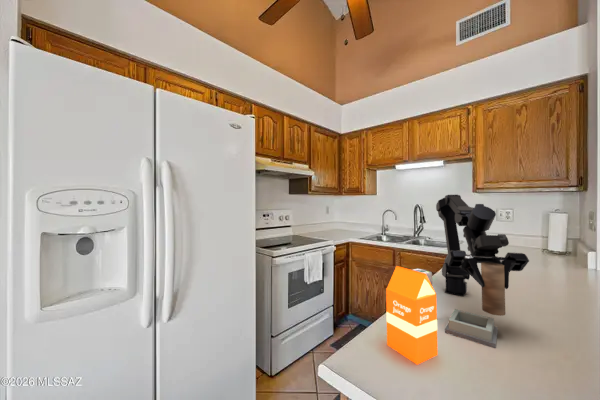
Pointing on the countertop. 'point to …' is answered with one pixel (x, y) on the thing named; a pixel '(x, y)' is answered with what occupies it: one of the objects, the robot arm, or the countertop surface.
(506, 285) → the robot arm
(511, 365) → the countertop surface
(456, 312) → the dock
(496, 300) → the walnut plug
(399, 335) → the orange juice
